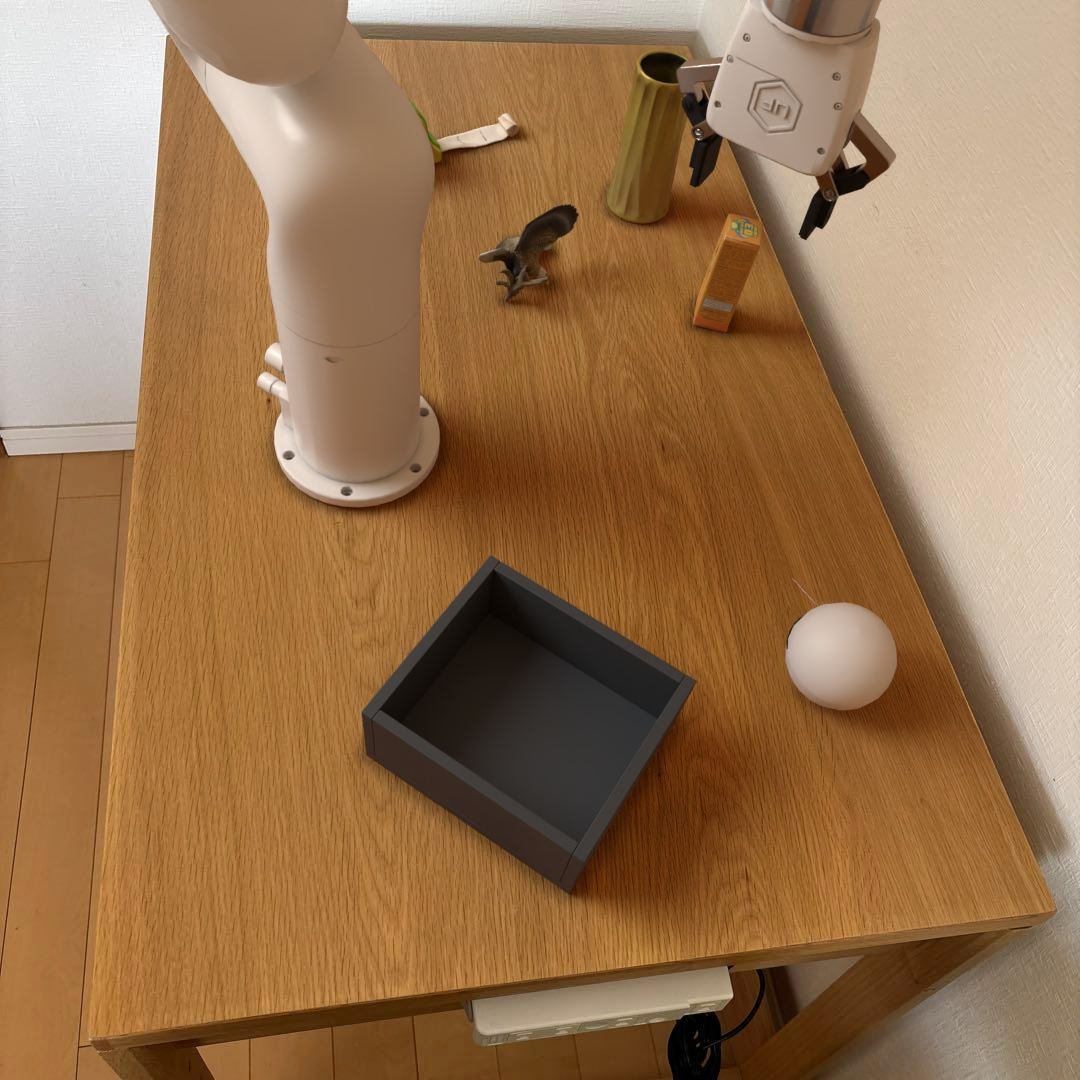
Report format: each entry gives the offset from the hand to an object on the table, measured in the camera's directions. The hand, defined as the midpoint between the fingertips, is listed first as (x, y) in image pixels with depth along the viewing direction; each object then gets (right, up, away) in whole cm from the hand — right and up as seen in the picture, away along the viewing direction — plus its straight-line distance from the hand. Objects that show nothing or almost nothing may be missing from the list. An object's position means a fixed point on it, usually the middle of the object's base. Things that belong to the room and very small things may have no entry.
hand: (754, 203), depth 81 cm
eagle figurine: (-18, -3, +11) cm, 21 cm away
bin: (-18, -40, -13) cm, 46 cm away
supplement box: (-2, -7, +10) cm, 13 cm away
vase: (-8, +6, +18) cm, 20 cm away
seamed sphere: (+3, -35, -8) cm, 36 cm away
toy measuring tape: (-28, +11, +19) cm, 36 cm away
